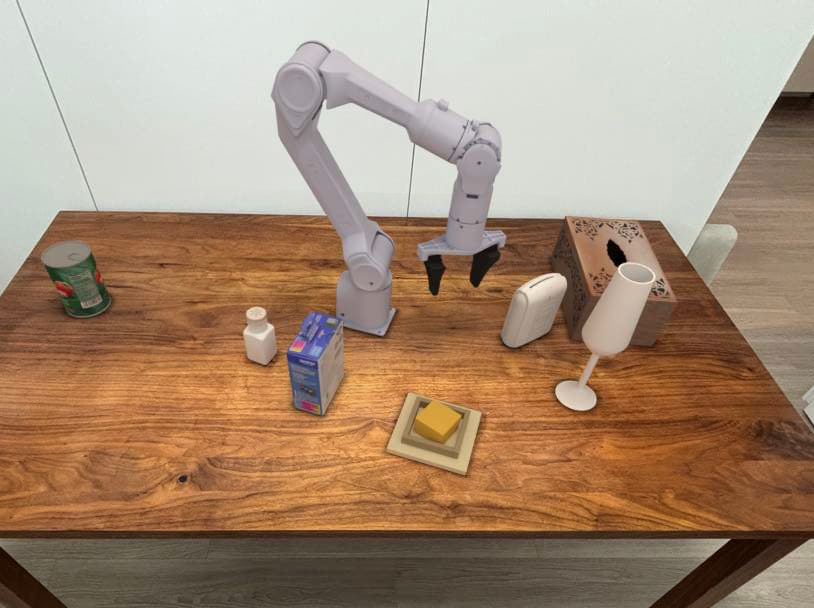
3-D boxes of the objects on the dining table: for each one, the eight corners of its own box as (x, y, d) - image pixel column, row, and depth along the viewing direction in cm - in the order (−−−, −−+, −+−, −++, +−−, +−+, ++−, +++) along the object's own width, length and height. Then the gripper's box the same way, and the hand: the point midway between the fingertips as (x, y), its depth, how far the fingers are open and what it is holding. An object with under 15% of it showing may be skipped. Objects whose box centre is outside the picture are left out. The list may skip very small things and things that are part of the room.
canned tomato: (56, 311, 98) (29, 259, 90) (86, 287, 103) (63, 236, 94) (91, 322, 96) (67, 271, 88) (120, 297, 101) (100, 246, 93)
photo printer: (536, 319, 101) (556, 263, 92) (553, 332, 99) (575, 275, 89) (496, 338, 97) (512, 281, 88) (512, 352, 95) (531, 295, 85)
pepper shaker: (278, 352, 93) (273, 309, 85) (266, 367, 90) (260, 324, 83) (259, 345, 94) (252, 302, 86) (246, 359, 91) (238, 316, 84)
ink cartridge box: (314, 366, 91) (311, 297, 80) (345, 374, 90) (345, 305, 79) (290, 407, 85) (283, 339, 74) (323, 417, 84) (320, 348, 73)
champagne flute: (574, 416, 85) (637, 294, 67) (546, 388, 89) (599, 265, 71) (605, 402, 88) (674, 280, 69) (577, 375, 91) (635, 253, 73)
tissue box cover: (651, 346, 97) (677, 302, 89) (571, 340, 97) (590, 295, 90) (618, 263, 114) (638, 221, 106) (550, 258, 114) (565, 215, 107)
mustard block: (412, 430, 81) (414, 417, 79) (431, 411, 84) (434, 398, 81) (440, 447, 79) (443, 435, 77) (458, 428, 82) (461, 415, 79)
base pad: (386, 452, 80) (387, 442, 78) (408, 395, 87) (409, 385, 85) (465, 475, 77) (468, 465, 75) (480, 415, 85) (484, 405, 83)
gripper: (497, 195, 85) (480, 267, 95) (413, 207, 81) (405, 281, 92) (520, 217, 80) (500, 291, 91) (432, 232, 77) (421, 307, 87)
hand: (453, 288), depth 91 cm, fingers open, 7 cm apart
